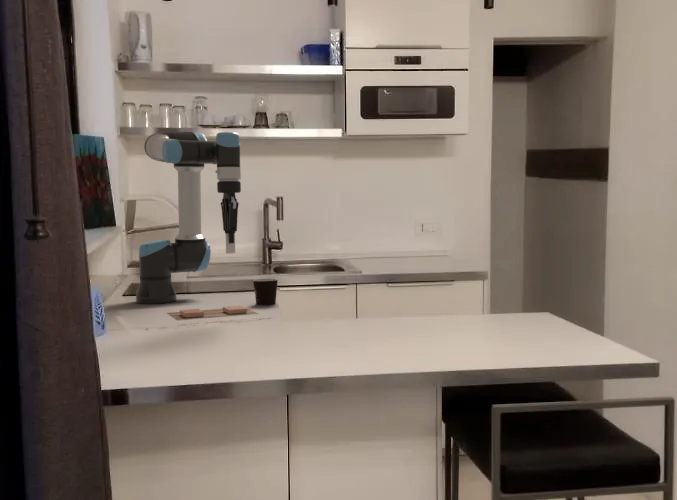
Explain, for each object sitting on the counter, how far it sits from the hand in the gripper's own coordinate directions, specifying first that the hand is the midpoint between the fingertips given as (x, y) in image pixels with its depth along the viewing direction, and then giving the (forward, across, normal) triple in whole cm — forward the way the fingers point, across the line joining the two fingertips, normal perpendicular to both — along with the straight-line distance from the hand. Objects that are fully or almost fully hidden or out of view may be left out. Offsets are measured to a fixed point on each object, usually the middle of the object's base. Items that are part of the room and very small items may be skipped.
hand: (230, 253), depth 232 cm
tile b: (+18, -1, 0) cm, 18 cm away
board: (+21, +1, -7) cm, 22 cm away
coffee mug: (+21, -12, +16) cm, 29 cm away
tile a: (+18, -1, -14) cm, 23 cm away
